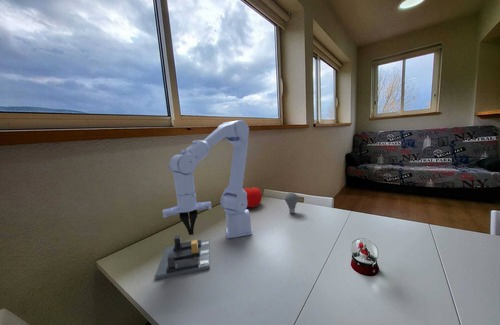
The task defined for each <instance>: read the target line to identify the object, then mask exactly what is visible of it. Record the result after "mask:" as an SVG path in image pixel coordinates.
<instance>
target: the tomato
mask: <svg viewBox="0 0 500 325" xmlns="http://www.w3.org/2000/svg"><path fill="white" fill-rule="evenodd" d="M243 189H244V190H245V192H246V193H247V208H256V207H258V206H259V205H260V204H261V202H262V198H263V197H262V196H263V195H262V191H261V190H260V189H259V188H258V187H255V186H250V187H245V188H243Z"/></svg>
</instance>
